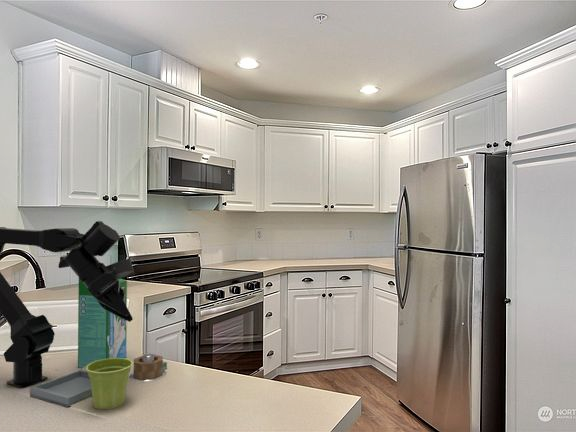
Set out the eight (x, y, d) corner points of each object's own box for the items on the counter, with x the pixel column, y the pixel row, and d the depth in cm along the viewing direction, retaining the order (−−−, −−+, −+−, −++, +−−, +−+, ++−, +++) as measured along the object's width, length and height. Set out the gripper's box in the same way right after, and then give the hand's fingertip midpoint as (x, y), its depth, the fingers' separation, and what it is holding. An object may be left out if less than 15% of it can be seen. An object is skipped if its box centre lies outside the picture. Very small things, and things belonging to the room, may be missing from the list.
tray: (30, 396, 95) (30, 387, 95) (80, 377, 106) (80, 369, 106) (68, 407, 89) (68, 398, 89) (117, 386, 101) (117, 377, 101)
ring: (127, 377, 105) (127, 361, 105) (154, 365, 114) (154, 351, 114) (148, 381, 102) (148, 365, 102) (174, 369, 111) (174, 354, 111)
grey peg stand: (121, 379, 105) (121, 357, 105) (148, 368, 113) (148, 348, 113) (148, 385, 101) (148, 363, 101) (173, 373, 109) (174, 352, 109)
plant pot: (118, 392, 97) (119, 354, 97) (141, 403, 91) (141, 363, 91) (77, 405, 90) (77, 365, 90) (98, 419, 84) (99, 375, 84)
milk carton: (107, 369, 112) (107, 276, 112) (77, 367, 114) (78, 275, 114) (126, 358, 121) (127, 272, 121) (98, 356, 122) (99, 271, 123)
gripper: (113, 236, 96) (156, 287, 95) (121, 259, 113) (158, 302, 111) (68, 267, 91) (113, 320, 90) (84, 286, 108) (122, 331, 106)
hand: (129, 317), depth 99 cm, fingers open, 9 cm apart
